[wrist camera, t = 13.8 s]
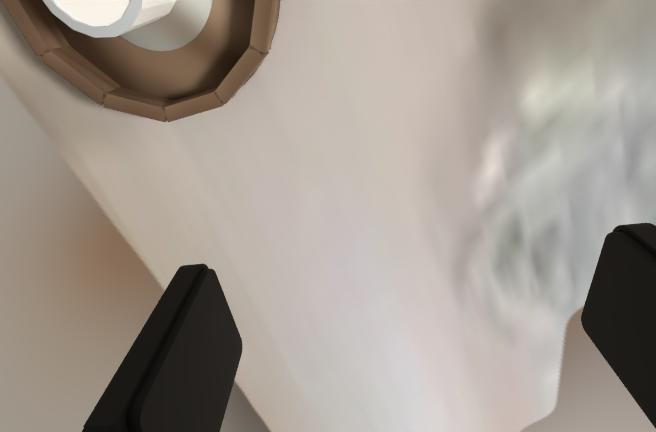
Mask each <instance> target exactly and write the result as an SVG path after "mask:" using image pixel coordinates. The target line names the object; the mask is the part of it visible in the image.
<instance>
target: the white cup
mask: <svg viewBox="0 0 656 432" xmlns="http://www.w3.org/2000/svg"><path fill="white" fill-rule="evenodd" d="M43 1H44V3H45V4H46V6H47V7H48V8H49V10H50V11H51V12H52V13H53V14H54V15H55V16H57V17H58V18H59V19H60V20H62V21H63V22H64V23H65V24H67V25H68V26H69V27H70V28H72V29H73V30H76V31H78V32H81V33H84V34H86V35H89V36H91V37H94V38H101V37H116V36H119V35H121V34H124V33H126V32H129V31H131V30H134V29H136V28H139V27H141V26H144V25H146V24H149V23H151V22H154V21H156V20H158V19H160V18H162V17H163V16H165V15H167V14H168V13H169V12H170V11H171V9H172V7H173V6H174V4H175V2H176V0H43Z"/></svg>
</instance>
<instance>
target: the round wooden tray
mask: <svg viewBox="0 0 656 432" xmlns="http://www.w3.org/2000/svg"><path fill="white" fill-rule="evenodd" d="M1 1H2V2H3V4H4V6H5V7H6V9H7V10H8V12H9V13H10V15H11V16H12V18H13V20H14V21H15V23H16V24H17V26H18V27H19V29H20V30H21V32H22V34H23V35H24V37H25V38H26V40H27V41H28V43H29V44H30V46H31V48H32V49H33V51H34V52H35V54H36V55H37V56H42V55H43V56H42V58H41V61H43V62H44V63H45V64H47V65H48V66H49V67H50V68H52V69H53V70H54V71H56V72H57V73H58V74H60V75H61V76H62V77H64V78H65V79H66V80H68V81H69V82H70V83H71V84H73V85H74V86H75V87H77V88H78V89H79V90H81V91H82V92H83V93H85V94H86V95H87V96H89V97H90V98H91V99H92V100H94V101H95V102H96V103H98V104H99V105H102V104H104V107H105V108H109V109H113V110H117V111H121V112H126V113H130V114H134V115H138V116H142V117H146V118H150V119H154V120H158V121H162V122H166V121H167V120H168V122H171V121H174V120H177V119H181V118H184V117H187V116H191V115H194V114H197V113H201V112H204V111H208V110H211V109H214V108H218V107H221V106H223V105H224V104H226V103H227V102H228V101H229V100H230V99H231V98H233V96H234V95H235V94H236V93H237V92H238V90H239V89H240V88H241V87H242V86H243V85H244V84H245V83H246V82H247V81H248V80H249V79H250V78H251V77H252V76H253V75H254V73H255V72H256V70H257V69H258V68H259V66H260V65H261V63H262V62H263V60H264V58H265V57H266V56H267V54H268V53H269V52H268V50H270V49H271V43H272V40H273V37H274V34H275V30H276V26H277V21H278V16H279V8H280V0H176V2H175V4H174V6H173V7H172V9H171V11H170V12H169V13H168V14H167V15H165V16H163V17H162V18H160V19H158V20H156V21H154V22H151V23H149V24H146V25H144V26H141V27H139V28H136V29H134V30H131V31H129V32H126V33H124V34H121V35H119V36H116V37H101V38H94V37H91V36H89V35H86V34H84V33H81V32H78V31H76V30H73V29H72V28H70V27H69V26H68V25H67V24H65V23H64V22H63V21H62V20H60V19H59V18H58V17H57V16H55V15H54V14H53V13H52V12H51V11H50V10H49V8H48V7H47V6H46V4H45V3H44V1H43V0H1Z"/></svg>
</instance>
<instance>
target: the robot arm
mask: <svg viewBox="0 0 656 432" xmlns="http://www.w3.org/2000/svg"><path fill="white" fill-rule="evenodd" d="M581 321H582V326H583V328H584V330H585V332H586V333H587V334H588V336H589V337H590V339H591V340H592V341H593V343H594V344H595V346H596V347H597V348H598V350H599V351H600V352H601V354H602V355H603V357H604V358H605V359H606V361H607V362H608V363H609V365H610V366H611V368H612V369H613V370H614V372H615V373H616V374H617V376H618V377H619V379H620V380H621V381H622V383H623V384H624V386H625V387H626V388H627V390H628V391H629V392H630V394H631V395H632V397H633V398H634V399H635V401H636V402H637V403H638V405H639V406H640V407H641V409H642V410H643V412H644V413H645V414H646V416H647V417H648V419H649V420H650V421H651V423H652V424H653V425H654V427H655V428H656V226H655V225H653V224H651V223H640V224H629V225H620V226H617V227H616V228H615V229H614V230H613V232H612V233H609V234H608V235H607V236H606V238H605V241H604V244H603V247H602V251H601V254H600V257H599V260H598V263H597V267H596V270H595V273H594V276H593V280H592V283H591V286H590V289H589V293H588V296H587V299H586V302H585V305H584V309H583V312H582V316H581ZM241 354H242V340H241V337H240V334H239V332H238V329H237V327H236V324H235V321H234V319H233V316H232V314H231V311H230V309H229V306H228V303H227V301H226V298H225V296H224V293H223V291H222V288H221V285H220V283H219V280H218V278H217V275H216V273H215V271H214V270H213V269H209V268H208V267H207V266H206V265H205V264H196V265H185V266H181V267H180V268H179V269H178V270H177V272H176V274H175V275H174V277H173V279H172V280H171V282H170V284H169V285H168V287H167V289H166V290H165V292H164V294H163V295H162V297H161V299H160V300H159V302H158V304H157V305H156V307H155V309H154V310H153V312H152V314H151V315H150V317H149V319H148V320H147V322H146V324H145V325H144V327H143V328H142V330H141V332H140V334H139V335H138V337H137V338H136V340H135V342H134V343H133V345H132V347H131V349H130V350H129V352H128V353H127V355H126V357H125V358H124V360H123V362H122V364H121V365H120V367H119V368H118V370H117V372H116V373H115V375H114V377H113V378H112V380H111V382H110V383H109V385H108V387H107V388H106V390H105V392H104V393H103V395H102V397H101V398H100V400H99V402H98V403H97V405H96V406H95V408H94V410H93V412H92V413H91V415H90V417H89V418H88V420H87V421H86V423H85V425H84V429H83V431H82V432H220V428H221V425H222V421H223V418H224V414H225V410H226V407H227V403H228V400H229V396H230V393H231V389H232V386H233V382H234V379H235V375H236V372H237V368H238V365H239V361H240V358H241Z"/></svg>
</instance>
